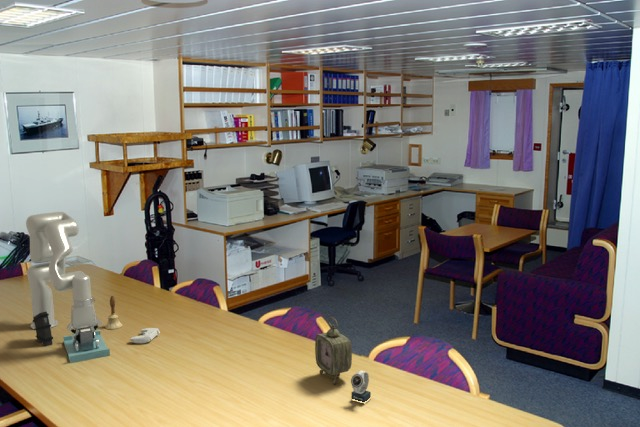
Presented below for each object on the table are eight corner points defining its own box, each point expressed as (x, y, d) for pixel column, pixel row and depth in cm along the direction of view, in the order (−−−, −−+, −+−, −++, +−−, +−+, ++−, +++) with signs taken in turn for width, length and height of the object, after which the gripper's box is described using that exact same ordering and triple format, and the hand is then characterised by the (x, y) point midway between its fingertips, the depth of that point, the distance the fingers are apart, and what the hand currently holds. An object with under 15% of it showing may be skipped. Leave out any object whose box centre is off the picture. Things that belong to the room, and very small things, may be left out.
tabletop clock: (315, 373, 233) (314, 314, 229) (334, 368, 238) (334, 310, 234) (333, 387, 221) (333, 325, 217) (353, 382, 225) (353, 321, 221)
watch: (348, 402, 209) (348, 374, 208) (360, 393, 216) (360, 366, 214) (361, 406, 206) (361, 378, 204) (373, 398, 213) (373, 370, 211)
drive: (78, 341, 263) (76, 324, 261) (89, 339, 265) (88, 322, 264) (81, 350, 252) (80, 333, 251) (93, 348, 255) (92, 331, 254)
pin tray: (63, 342, 266) (62, 331, 265) (100, 336, 274) (99, 325, 273) (70, 363, 244) (69, 351, 243) (109, 355, 252) (109, 344, 251)
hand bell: (122, 322, 292) (120, 292, 289) (122, 328, 284) (120, 297, 281) (105, 324, 289) (103, 294, 287) (104, 330, 281) (102, 299, 279)
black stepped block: (47, 345, 259) (39, 313, 261) (38, 349, 268) (30, 318, 271) (56, 342, 262) (47, 310, 264) (46, 347, 271) (39, 316, 273)
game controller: (142, 326, 278) (161, 323, 276) (144, 335, 279) (163, 332, 276) (127, 338, 264) (147, 334, 262) (130, 346, 265) (149, 344, 262)
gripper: (101, 297, 263) (103, 334, 266) (60, 303, 255) (64, 342, 258) (104, 301, 256) (106, 340, 259) (62, 308, 248) (66, 347, 251)
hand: (85, 340), depth 259 cm, fingers closed on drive, 4 cm apart
